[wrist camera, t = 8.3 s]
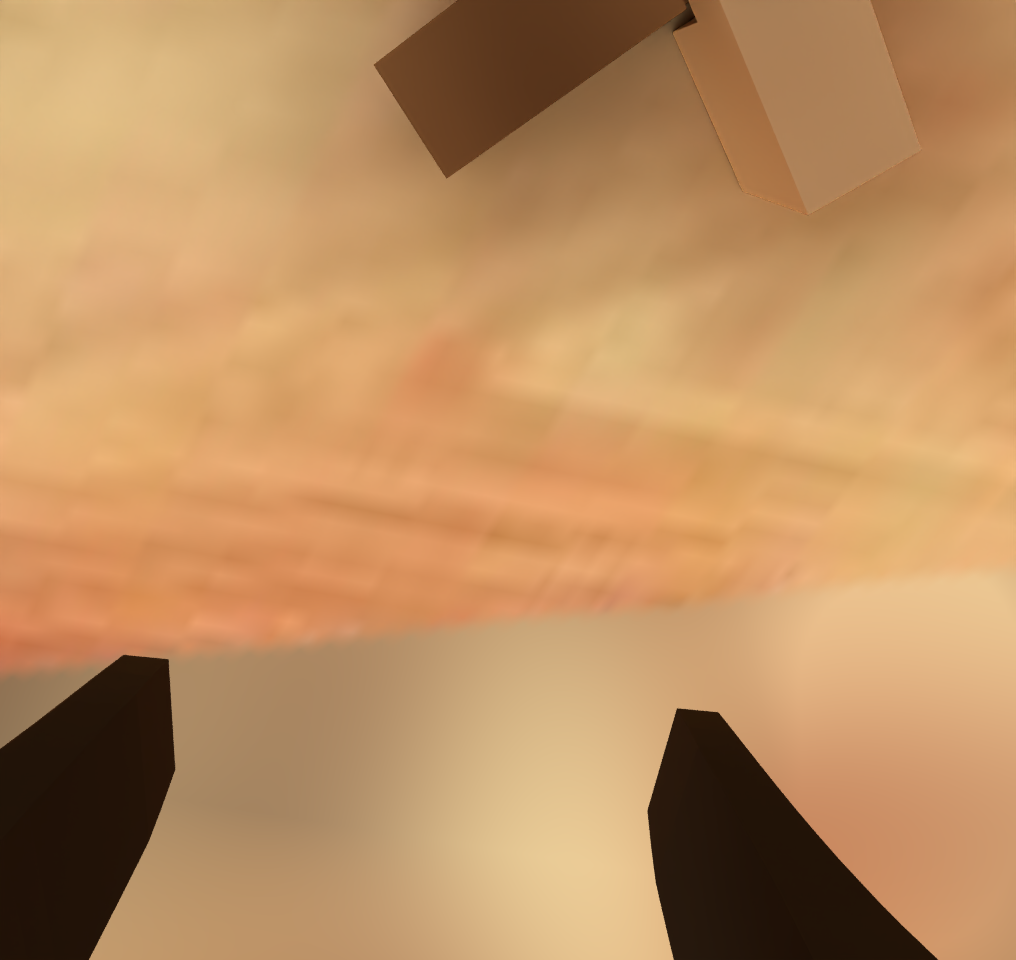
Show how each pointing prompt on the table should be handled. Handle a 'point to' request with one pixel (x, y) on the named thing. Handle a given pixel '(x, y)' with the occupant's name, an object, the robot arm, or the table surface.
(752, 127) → the burr puzzle piece
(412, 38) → the walnut slotted plate
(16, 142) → the table surface
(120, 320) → the table surface
